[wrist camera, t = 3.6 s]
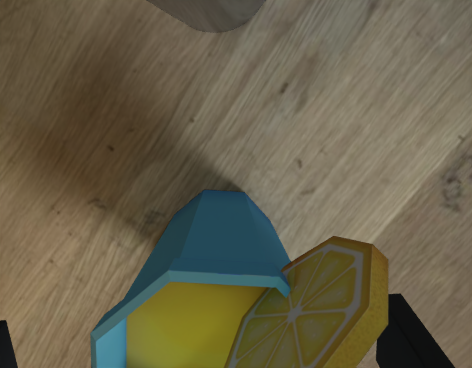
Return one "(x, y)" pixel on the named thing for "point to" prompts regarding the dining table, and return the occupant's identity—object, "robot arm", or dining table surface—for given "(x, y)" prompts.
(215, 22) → the sake bottle
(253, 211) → the cup
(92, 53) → the dining table surface
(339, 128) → the dining table surface
